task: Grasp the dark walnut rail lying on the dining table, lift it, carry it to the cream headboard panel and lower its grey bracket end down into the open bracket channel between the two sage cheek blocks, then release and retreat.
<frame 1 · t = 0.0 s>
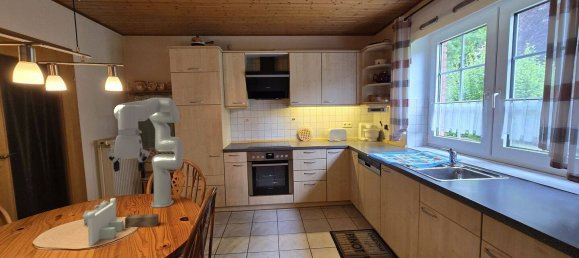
hand: (128, 170, 112), 31 cm above the table, fingers open, 9 cm apart
headboard post: (110, 234, 118), on the table
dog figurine: (97, 222, 130), on the table
rail: (142, 225, 127), on the table
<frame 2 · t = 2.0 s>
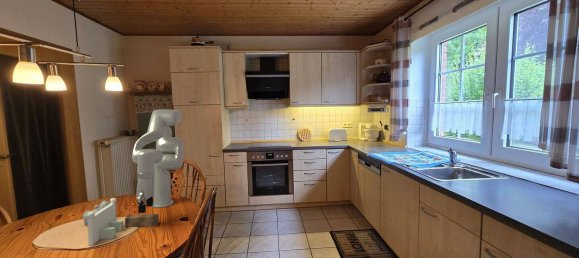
hand: (146, 209, 127), 9 cm above the table, fingers open, 9 cm apart
nothing on the table moved.
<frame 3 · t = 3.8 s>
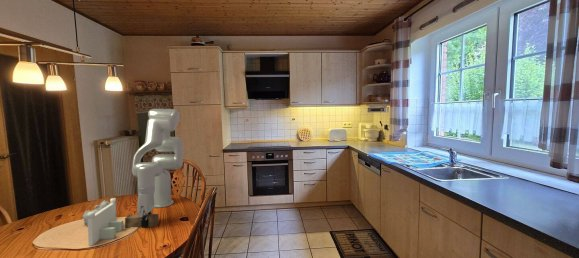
hand: (146, 224, 128), 0 cm above the table, fingers closed on rail, 4 cm apart
rail: (142, 225, 127), on the table, touching gripper
everything else where it was.
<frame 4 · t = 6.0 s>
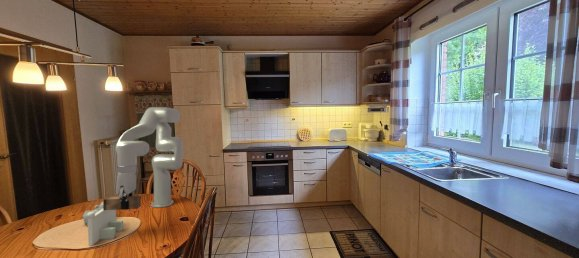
hand: (127, 207, 118), 13 cm above the table, fingers closed on rail, 4 cm apart
rail: (122, 208, 118), point 12 cm above the table, touching gripper
everything else where it was.
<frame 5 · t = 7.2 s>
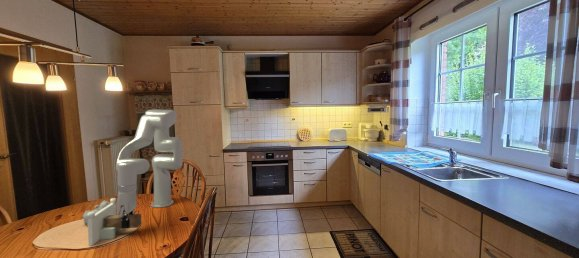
hand: (127, 225, 119), 4 cm above the table, fingers closed on rail, 4 cm apart
rail: (123, 226, 118), point 3 cm above the table, touching gripper
everything else where it was.
when the fingers open (2 cm above the table, at t = 8.3 s): rail drops 1 cm, on the table.
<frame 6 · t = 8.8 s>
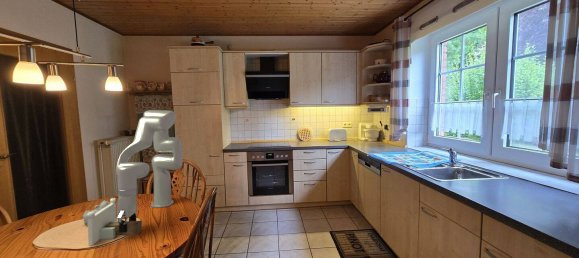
hand: (128, 227, 119), 3 cm above the table, fingers open, 9 cm apart
rail: (124, 233, 119), on the table
everything else where it was.
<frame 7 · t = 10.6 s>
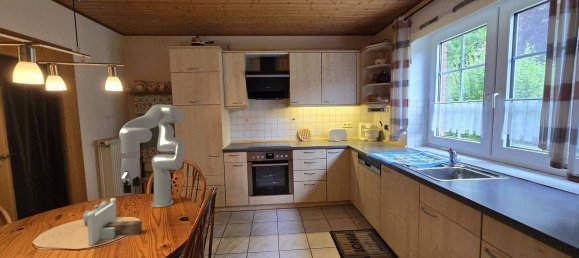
hand: (132, 189, 122), 20 cm above the table, fingers open, 9 cm apart
nothing on the table moved.
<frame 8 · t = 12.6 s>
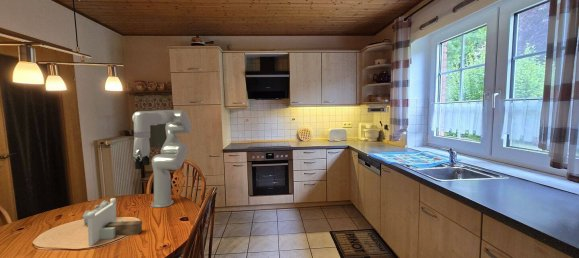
hand: (142, 166, 134), 28 cm above the table, fingers open, 9 cm apart
nothing on the table moved.
at the end: rail 0.1 cm from the target spot on the table beside the headboard post, on the table; rail tilted 0°; the gripper is holding nothing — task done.
